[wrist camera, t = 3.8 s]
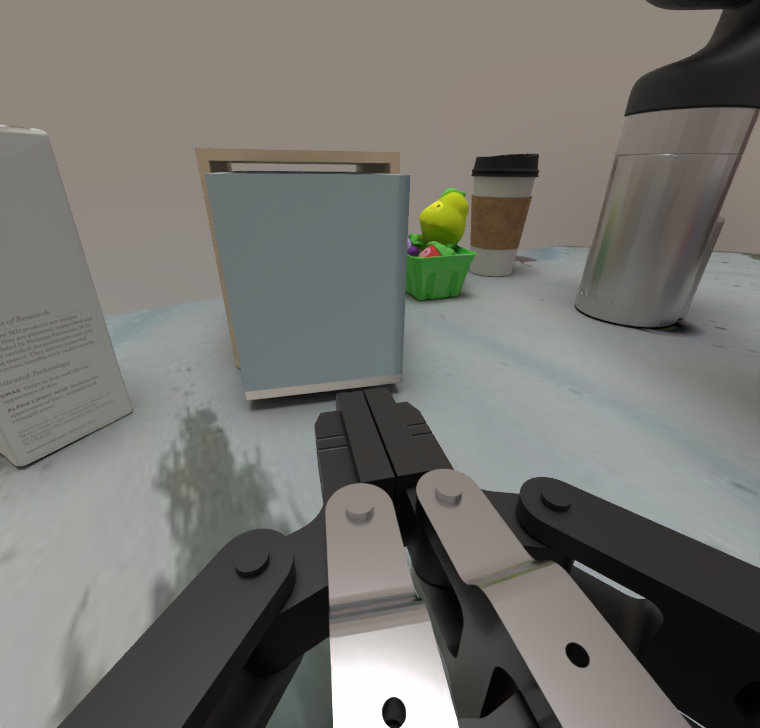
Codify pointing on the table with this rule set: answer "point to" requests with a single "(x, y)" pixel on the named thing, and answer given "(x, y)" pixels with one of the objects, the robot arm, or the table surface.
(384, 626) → the robot arm
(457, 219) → the fruit basket
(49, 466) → the table surface
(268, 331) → the drawer
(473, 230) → the coffee cup
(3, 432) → the skincare box
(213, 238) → the sleeve
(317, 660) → the table surface
